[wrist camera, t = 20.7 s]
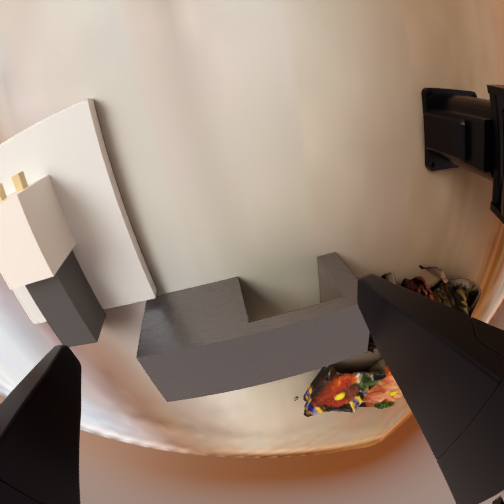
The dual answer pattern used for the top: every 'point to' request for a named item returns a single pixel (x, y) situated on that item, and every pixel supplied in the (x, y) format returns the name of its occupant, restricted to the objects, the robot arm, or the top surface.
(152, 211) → the top surface
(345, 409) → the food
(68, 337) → the plug
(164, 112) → the top surface
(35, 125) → the white mat
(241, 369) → the grey notched block
